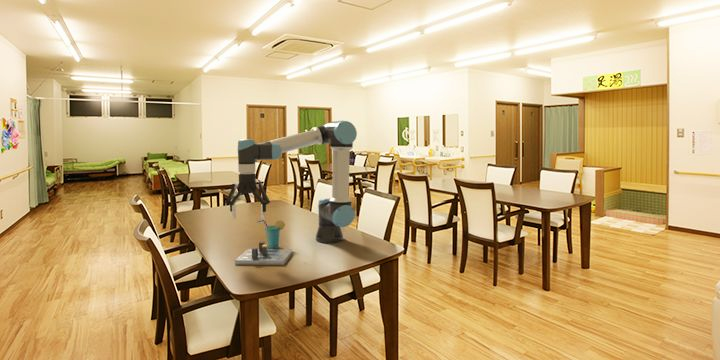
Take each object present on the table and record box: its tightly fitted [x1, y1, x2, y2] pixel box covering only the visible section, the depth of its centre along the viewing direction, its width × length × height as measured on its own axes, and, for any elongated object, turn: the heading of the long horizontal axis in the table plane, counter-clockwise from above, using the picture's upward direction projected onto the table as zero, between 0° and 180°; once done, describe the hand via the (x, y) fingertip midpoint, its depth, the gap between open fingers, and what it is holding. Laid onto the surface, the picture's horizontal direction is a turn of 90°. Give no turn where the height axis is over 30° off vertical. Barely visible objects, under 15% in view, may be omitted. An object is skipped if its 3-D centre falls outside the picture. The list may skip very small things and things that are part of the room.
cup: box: [256, 219, 286, 249], centre depth 204 cm, size 14×8×15 cm, turn 112°
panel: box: [234, 241, 293, 266], centre depth 186 cm, size 22×18×6 cm
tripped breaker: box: [262, 244, 269, 254], centre depth 186 cm, size 2×2×4 cm
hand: (248, 218), depth 185 cm, fingers open, 13 cm apart
